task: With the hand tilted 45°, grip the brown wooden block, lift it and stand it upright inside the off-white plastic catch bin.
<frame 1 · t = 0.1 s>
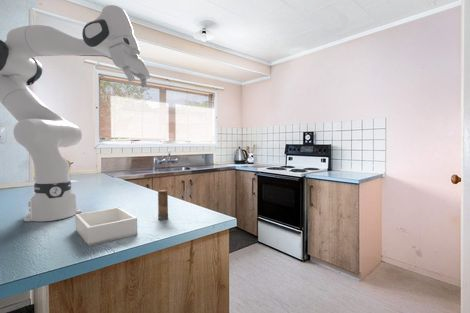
hand: (138, 84, 93), 52 cm above the counter, tool tilted 20°, fingers open, 8 cm apart
catch bin: (105, 232, 82), on the counter
brown wooden block: (163, 218, 97), on the counter
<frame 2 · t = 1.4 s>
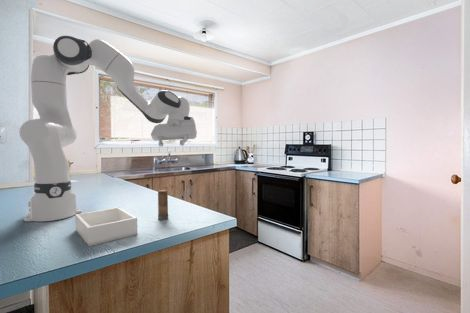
hand: (171, 145, 106), 29 cm above the counter, tool tilted 45°, fingers open, 8 cm apart
nothing on the counter moved.
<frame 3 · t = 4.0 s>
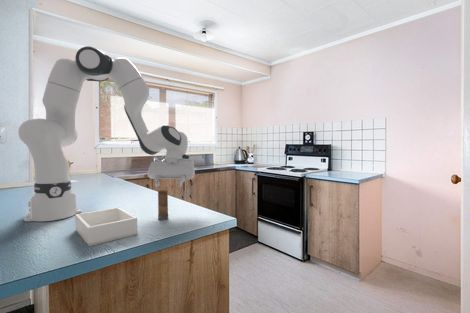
hand: (168, 185, 103), 12 cm above the counter, tool tilted 45°, fingers open, 8 cm apart
nothing on the counter moved.
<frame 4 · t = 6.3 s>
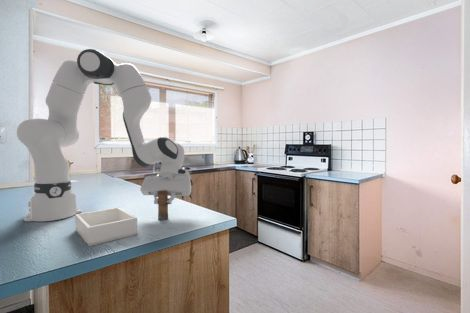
hand: (162, 203, 96), 6 cm above the counter, tool tilted 45°, fingers closed on brown wooden block, 4 cm apart
brown wooden block: (163, 218, 97), on the counter, touching gripper
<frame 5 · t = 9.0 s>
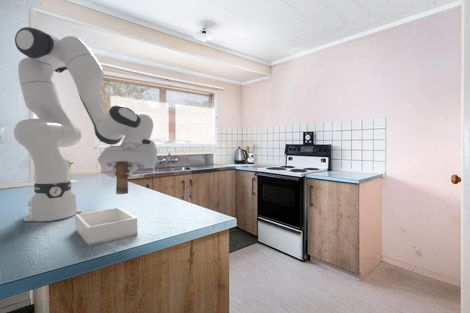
hand: (121, 175, 85), 19 cm above the counter, tool tilted 45°, fingers closed on brown wooden block, 4 cm apart
brown wooden block: (122, 193, 86), point 12 cm above the counter, touching gripper
when the fingers open (9 cm above the counter, at t = 11.8 s): brown wooden block drops 1 cm, resting on catch bin.
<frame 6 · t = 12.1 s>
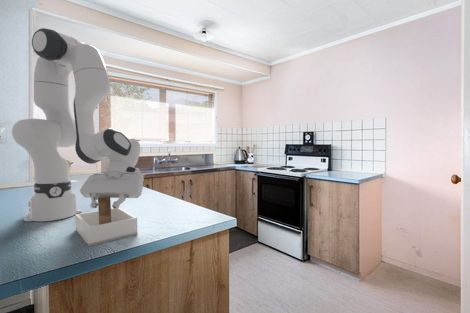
hand: (104, 207, 81), 9 cm above the counter, tool tilted 45°, fingers open, 6 cm apart
brown wooden block: (105, 229, 82), point 1 cm above the counter, touching catch bin
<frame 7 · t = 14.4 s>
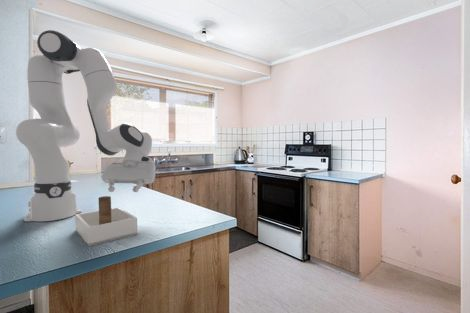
hand: (122, 191, 93), 11 cm above the counter, tool tilted 45°, fingers open, 8 cm apart
nothing on the counter moved.
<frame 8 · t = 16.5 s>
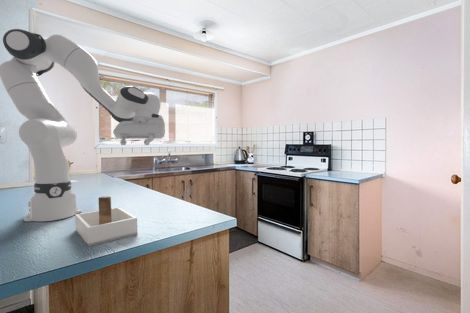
hand: (134, 144, 96), 29 cm above the counter, tool tilted 45°, fingers open, 8 cm apart
nothing on the counter moved.
at the end: brown wooden block inside the target area on the catch bin (0.1 cm from its centre), point 0.8 cm above the catch bin's base; brown wooden block tilted 0°; the gripper is holding nothing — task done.
